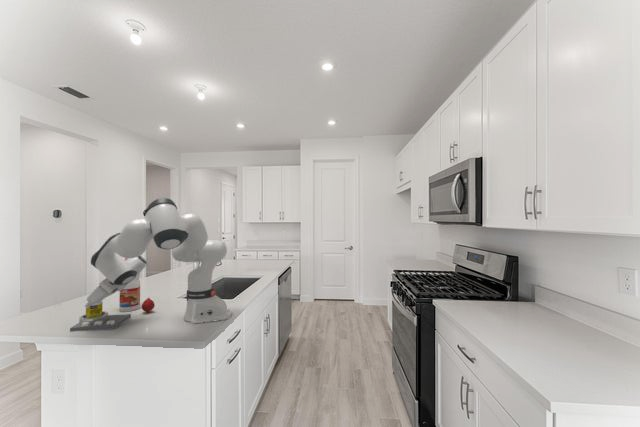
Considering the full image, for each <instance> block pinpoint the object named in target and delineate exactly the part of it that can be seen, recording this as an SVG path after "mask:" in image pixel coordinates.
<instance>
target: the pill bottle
mask: <svg viewBox="0 0 640 427" xmlns="http://www.w3.org/2000/svg"><path fill="white" fill-rule="evenodd" d="M103 303H104V302H103V300H102V301H101V300H100V301H98V302H96V303H94V304H92V306H91V307H89V308H86V307H85V314H86V318H95V317H99V316H102V311H103Z"/></svg>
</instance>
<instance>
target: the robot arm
mask: <svg viewBox="0 0 640 427" xmlns="http://www.w3.org/2000/svg"><path fill="white" fill-rule="evenodd" d="M142 215H143V217H142V218H135V219H132V220H130V221H129V222H127V224H126V225H125V226H124V227H123V229H122V230H121V232H117V233H115V234H113V235H111V236H110V237H108V239H106V241H105V242H104V243H103V244H102V246H100V248H99V249H98V250H97V251H96V252H94V254H93V255H92V256H91V258H90V265H92V267H94V268H95V269H97V270H98V271H99V272H100V273H101V274H102V275H103V276H104V277H105V279H103V280H102V281H100V282H99V284H98V286H96V288H95V289H93V291H92V292H91V293H90V294H89V295H88V296H87V298H86V301H87V302H86V304H85V305H84V307H85V309H86V308H89V307H91V306H92V304H94V303H96V302H98V301H100V300H101V301H102V302H103V300H105V299H106V298H108V297H110V296H112V295H114V294H115V293H116V292H120V291H121V290H122V289H123V288H124V287H125V286H127V285H128V284H129V283H130V282H131V281H132V280H133V279H134V278H135V277H136V276H137V275H138V274H139V273H140V274H141V272H143V270H144V269H145V268H146V266H147V265H148V263H147V261H146V259H145V258H144V257H143V256H142V255H143V254H144V253H145V252H146V251H147V249H148V248H149V245H150V244H151V241H152V239H153V242H154V243H155V246H156V247H157V248H158V249H162V250H171V255H172V258H173V259H174V260H175V261H178V262H182V263H196V262H197V263H198V262H199V263H200V266H199V267H196V268H195V269H193V270H191V271H189V273H188V275H187V290H186V294H185V295H186V297H185V298H186V308H185V313H184V317H183V320H184V321H186V322H190V323H191V324H194V325H196V323H197V324H204V323H203V322H205V323H209V322H208V321H213V322H215V321H214V320H221V321H226V320H228V319H230V318H231V316H232V311H231V309H228V305H227V303H226V300H224V299H222V298H220V297H219V296H217V295H216V293H217V291H216V288H213V287H212V281H213V280H212V279H213V278H212V277H213V272H214V269H215V268H216V266H217V265H218V264H219V263H220V262H221V261H222V260H224V258H225V256H226V255H227V252H228V248H227V245H226V244H225V242H224V241H223V240H220V239H219V240H216V239H209V236H208V231H207V228H206V226H205V223H204V221H203V220H202V218H201V217H200V216H199V215H197V214H195V213H191V212H190V213H185V214H183V215H182V216H180V213H179V212H178V207H177V205H176V203H175V202H174V201H173V200H172V199H170V198H167V197H160V198H156V199H154V200H153V201H152V202H151V203H149V204H148V206H147V207H146V209H144V210H143V212H142ZM125 258H128V259H127V260H126V261H125Z"/></svg>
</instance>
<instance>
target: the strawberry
mask: <svg viewBox="0 0 640 427" xmlns="http://www.w3.org/2000/svg"><path fill="white" fill-rule="evenodd" d="M154 308H155V301H154V300H152V299H151V298H150V297H147V298H146V299H145V300H144V301H142V304H141V309H142V311H143V312H145V313H147V314H149V313H150V312H151V311H153V309H154Z"/></svg>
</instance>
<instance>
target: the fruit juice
mask: <svg viewBox="0 0 640 427" xmlns="http://www.w3.org/2000/svg"><path fill="white" fill-rule="evenodd" d="M127 259H128V258H124V260H125V261H126V260H127ZM140 276H141V272H140V273H139V274H138V275H137V276H136V277H135V278H134V279H133V280H132V281H131V282H130V283H129V284H128V285H127V286H125V287H124V288H123V289H122V290H121V291H119V311H120V312H124V313H125V312H132V311H136V310H139V309H140V308H141V280H140Z"/></svg>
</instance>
